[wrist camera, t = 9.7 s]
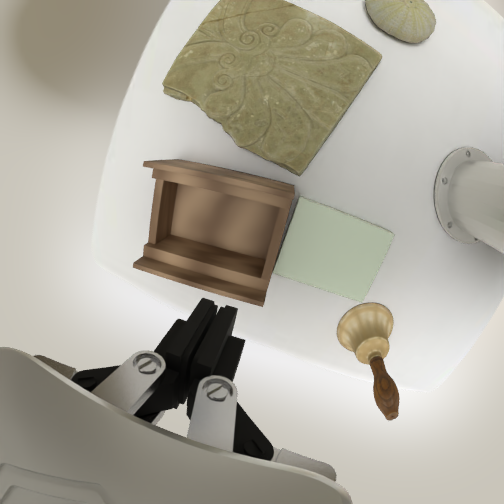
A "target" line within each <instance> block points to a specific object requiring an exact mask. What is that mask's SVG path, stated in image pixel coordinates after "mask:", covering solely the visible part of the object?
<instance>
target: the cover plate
mask: <svg viewBox="0 0 504 504" xmlns="http://www.w3.org/2000/svg"><path fill="white" fill-rule="evenodd" d="M393 237H394V234H393V233H392V232H390V231H388V230H386V229H384V228H381V227H379V226H376V225H374V224H372V223H369V222H367V221H364V220H362V219H359V218H357V217H354V216H352V215H349V214H347V213H344V212H342V211H339V210H337V209H334V208H331V207H329V206H326V205H323V204H321V203H318V202H315V201H313V200H310V199H307V198H304V197H301V196H299V199H298V202H297V205H296V208H295V210H294V213H293V216H292V219H291V222H290V224H289V227H288V230H287V233H286V236H285V238H284V241H283V244H282V247H281V249H280V252H279V255H278V258H277V260H276V263H275V266H274V268H273V273H274V274H277V275H280V276H283V277H286V278H289V279H292V280H295V281H298V282H301V283H304V284H307V285H310V286H313V287H316V288H319V289H322V290H325V291H328V292H331V293H334V294H337V295H340V296H343V297H346V298H349V299H352V300H356V301H359V302H363V300H364V298H365V296H366V294H367V292H368V290H369V288H370V287H371V285H372V283H373V281H374V279H375V277H376V274H377V272H378V270H379V268H380V266H381V264H382V262H383V260H384V258H385V255H386V253H387V251H388V249H389V247H390V244H391V242H392V240H393Z"/></svg>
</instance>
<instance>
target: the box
mask: <svg viewBox="0 0 504 504" xmlns="http://www.w3.org/2000/svg"><path fill="white" fill-rule="evenodd" d="M143 167H149V168H153V174H152V178H155V179H156V183H155V190H154V197H153V204H152V212H151V221H150V230H149V240H148V243H147V244H145V245H144V252H143V257H141V258H140V259H138V260H137V261H136V262H134V263H133V268H136V269H139V270H142V271H145V272H148V273H151V274H154V275H157V276H160V277H163V278H166V279H170V280H173V281H176V282H179V283H182V284H185V285H189V286H192V287H195V288H198V289H202V290H205V291H208V292H212V293H215V294H219V295H222V296H226V297H229V298H233V299H236V300H240V301H243V302H247V303H250V304H254V305H258V306H262V307H263V305H264V301H265V297H266V292H267V288H268V285H269V282H270V278H271V275H272V271H273V268H274V264H275V261H276V257H277V254H278V250H279V246H280V243H281V239H282V236H283V232H284V228H285V225H286V221H287V217H288V214H289V210H290V206H291V203H292V200H293V199H294V195H295V191H294V185H291V184H287V183H284V182H280V181H276V180H272V179H268V178H264V177H260V176H256V175H251V174H247V173H243V172H239V171H234V170H230V169H225V168H220V167H215V166H211V165H206V164H201V163H195V162H190V161H185V160H179V159H174V160H155V161H144V163H143Z"/></svg>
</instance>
